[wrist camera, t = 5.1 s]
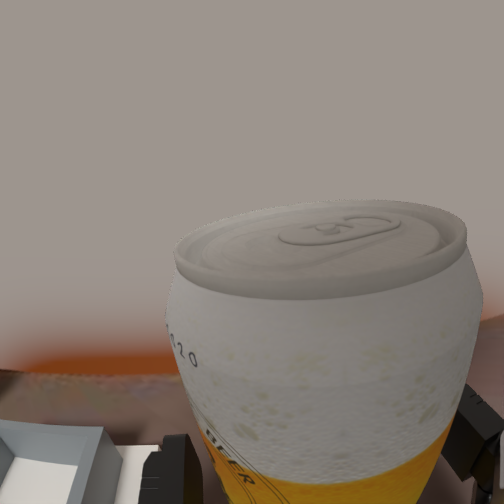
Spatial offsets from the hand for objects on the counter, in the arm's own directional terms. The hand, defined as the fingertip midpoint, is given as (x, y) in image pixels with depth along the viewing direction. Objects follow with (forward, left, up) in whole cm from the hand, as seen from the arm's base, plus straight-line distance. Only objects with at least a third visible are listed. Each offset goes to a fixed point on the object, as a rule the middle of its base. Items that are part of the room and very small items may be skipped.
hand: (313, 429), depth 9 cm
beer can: (0, +2, -8) cm, 8 cm away
